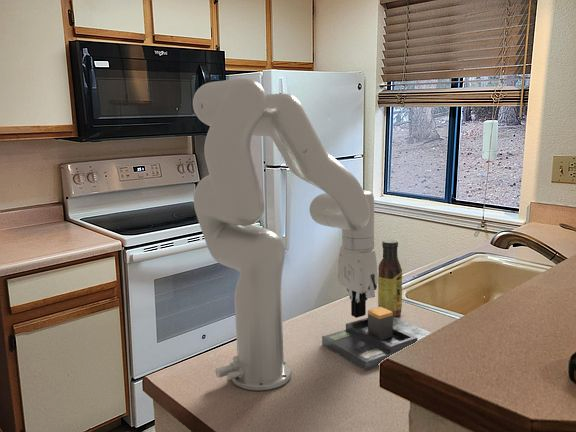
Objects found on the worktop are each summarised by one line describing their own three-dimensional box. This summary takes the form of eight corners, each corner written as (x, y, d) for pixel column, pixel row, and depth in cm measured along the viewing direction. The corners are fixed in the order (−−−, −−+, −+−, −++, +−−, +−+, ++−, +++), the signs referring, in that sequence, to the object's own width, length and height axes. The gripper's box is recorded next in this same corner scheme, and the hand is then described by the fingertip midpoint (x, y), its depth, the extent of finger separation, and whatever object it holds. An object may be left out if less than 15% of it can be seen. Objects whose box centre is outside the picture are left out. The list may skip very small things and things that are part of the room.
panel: (365, 370, 111) (365, 355, 110) (322, 344, 124) (321, 330, 123) (439, 344, 122) (439, 330, 122) (392, 322, 135) (392, 310, 135)
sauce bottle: (401, 318, 138) (402, 244, 134) (377, 317, 139) (377, 244, 135) (401, 309, 144) (402, 238, 140) (378, 308, 145) (378, 238, 142)
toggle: (379, 340, 120) (379, 315, 119) (368, 334, 123) (367, 310, 122) (392, 336, 122) (392, 311, 121) (380, 330, 125) (381, 306, 124)
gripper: (326, 239, 129) (327, 309, 133) (366, 251, 117) (366, 329, 121) (350, 234, 133) (351, 303, 137) (391, 246, 121) (391, 321, 124)
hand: (358, 315), depth 129 cm, fingers closed
